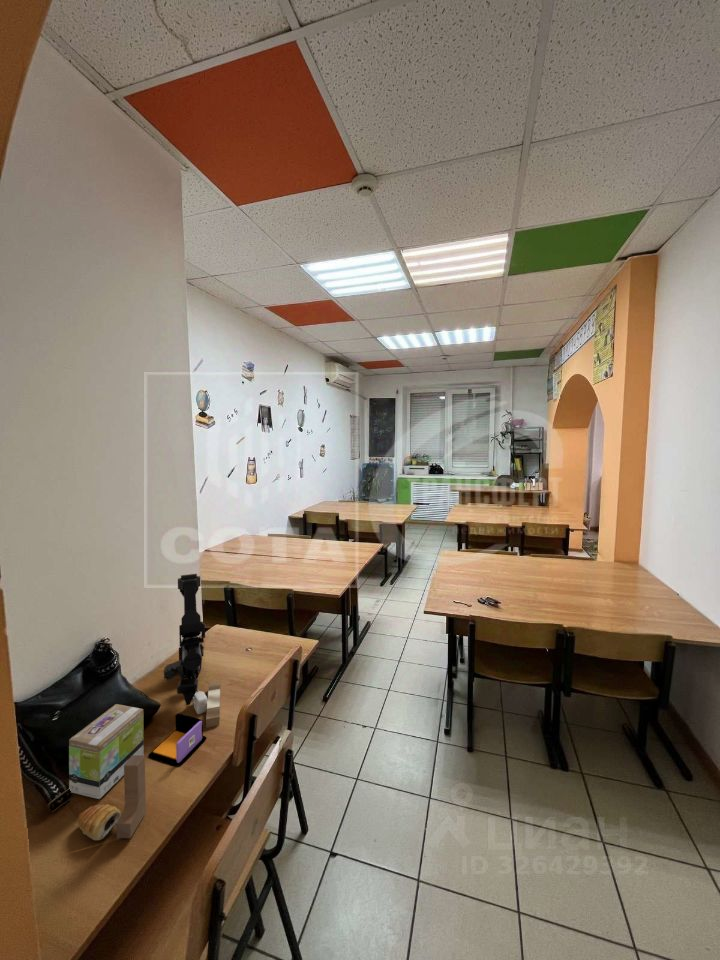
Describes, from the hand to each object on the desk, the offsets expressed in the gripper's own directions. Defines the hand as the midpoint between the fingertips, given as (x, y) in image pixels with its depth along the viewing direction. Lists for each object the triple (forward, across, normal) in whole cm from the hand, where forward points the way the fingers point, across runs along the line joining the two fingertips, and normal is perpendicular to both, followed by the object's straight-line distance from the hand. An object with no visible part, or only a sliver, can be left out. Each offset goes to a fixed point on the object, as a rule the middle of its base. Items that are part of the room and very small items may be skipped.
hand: (189, 697), depth 135 cm
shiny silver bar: (+1, +6, +8) cm, 10 cm away
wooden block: (+2, +45, -8) cm, 45 cm away
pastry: (+3, +40, -15) cm, 43 cm away
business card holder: (+2, +22, -1) cm, 22 cm away
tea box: (+3, +26, -17) cm, 32 cm away
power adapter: (+2, +4, +3) cm, 5 cm away
